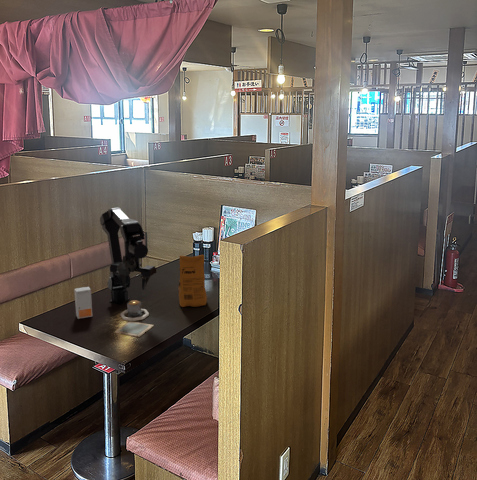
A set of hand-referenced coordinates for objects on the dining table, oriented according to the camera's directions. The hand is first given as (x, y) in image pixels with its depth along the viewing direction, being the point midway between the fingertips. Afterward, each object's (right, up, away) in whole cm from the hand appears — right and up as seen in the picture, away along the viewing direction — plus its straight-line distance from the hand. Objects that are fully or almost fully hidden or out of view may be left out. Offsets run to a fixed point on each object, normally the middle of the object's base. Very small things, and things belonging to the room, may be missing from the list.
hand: (133, 288), depth 210 cm
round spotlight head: (0, -11, +3) cm, 12 cm away
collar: (0, -11, +3) cm, 12 cm away
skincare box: (-21, -12, +2) cm, 24 cm away
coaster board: (+2, -15, -10) cm, 18 cm away
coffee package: (+23, -8, +16) cm, 29 cm away
